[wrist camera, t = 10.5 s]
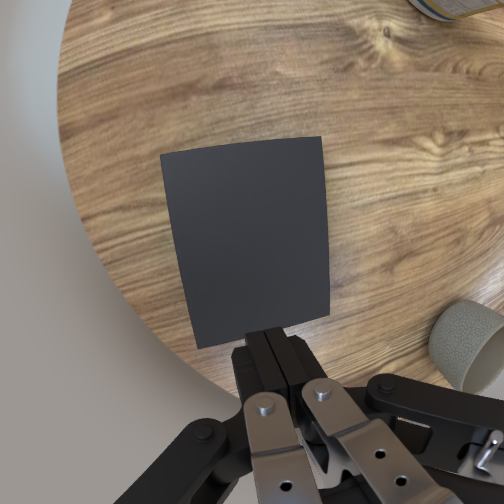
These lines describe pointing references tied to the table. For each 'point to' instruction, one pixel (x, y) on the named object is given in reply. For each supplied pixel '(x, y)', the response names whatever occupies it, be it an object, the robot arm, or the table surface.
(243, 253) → the tablet screen
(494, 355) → the planter
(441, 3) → the supplement tub
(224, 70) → the table surface
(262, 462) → the robot arm
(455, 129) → the table surface
